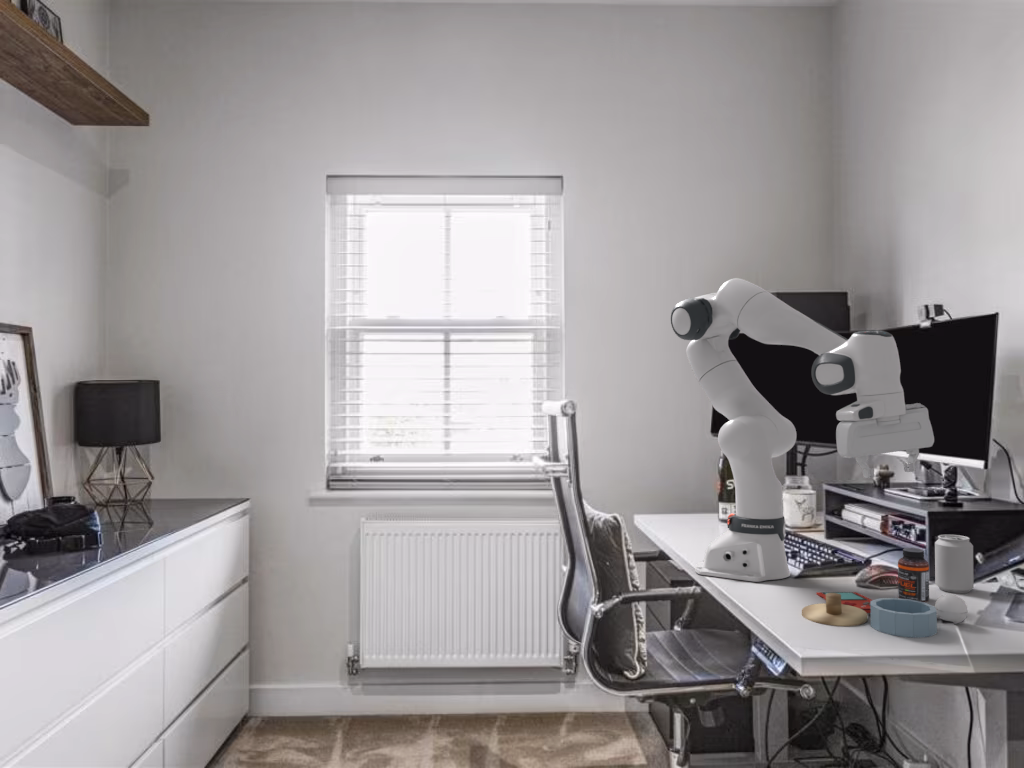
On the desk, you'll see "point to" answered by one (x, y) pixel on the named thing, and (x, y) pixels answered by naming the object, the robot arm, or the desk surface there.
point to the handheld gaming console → (851, 599)
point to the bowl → (903, 617)
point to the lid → (835, 612)
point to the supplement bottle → (913, 575)
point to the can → (954, 563)
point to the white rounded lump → (951, 608)
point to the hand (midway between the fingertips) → (889, 474)
